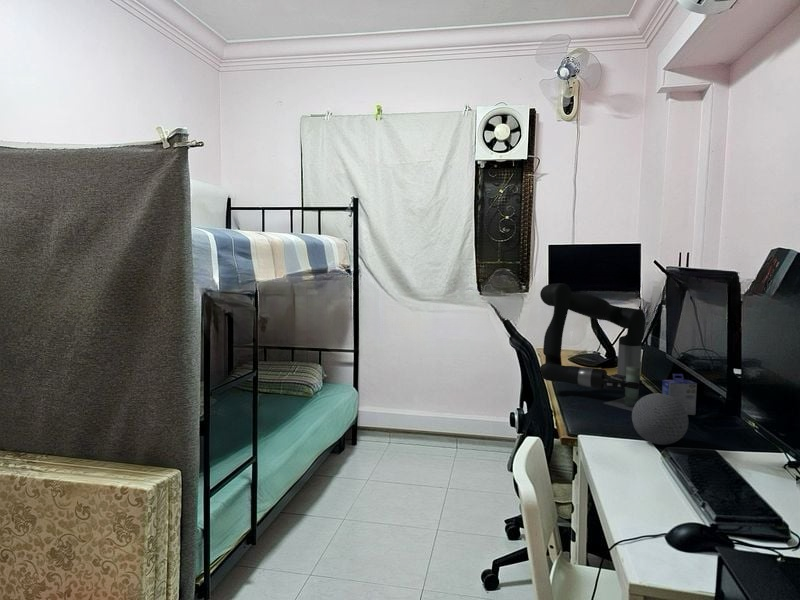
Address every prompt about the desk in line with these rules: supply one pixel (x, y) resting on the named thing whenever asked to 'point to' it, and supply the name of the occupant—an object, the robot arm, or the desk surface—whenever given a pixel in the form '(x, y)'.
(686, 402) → the ink cartridge box
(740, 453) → the desk surface
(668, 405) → the decorative ball
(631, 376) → the green pillar
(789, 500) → the desk surface
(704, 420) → the desk surface
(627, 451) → the desk surface
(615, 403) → the tapping mat
